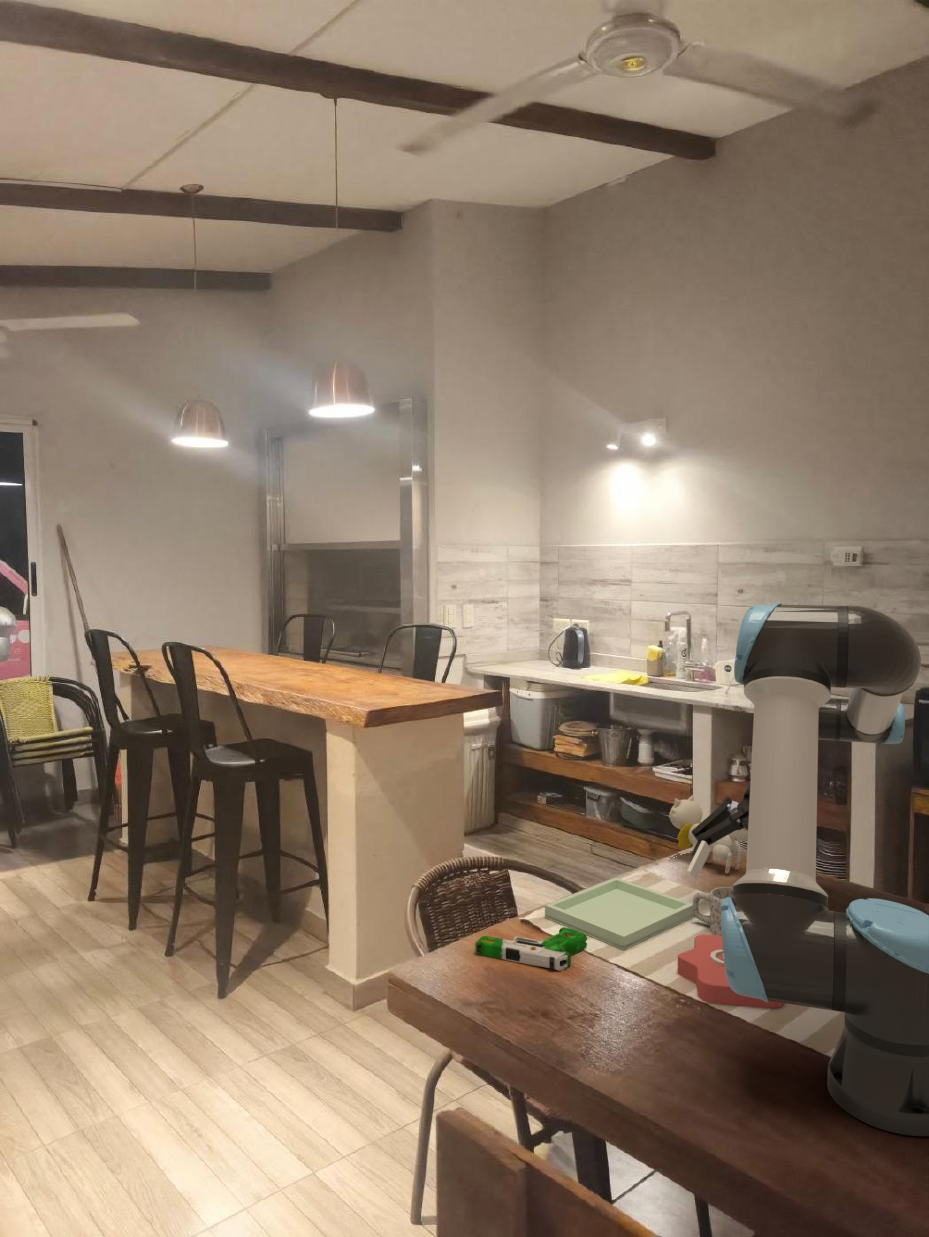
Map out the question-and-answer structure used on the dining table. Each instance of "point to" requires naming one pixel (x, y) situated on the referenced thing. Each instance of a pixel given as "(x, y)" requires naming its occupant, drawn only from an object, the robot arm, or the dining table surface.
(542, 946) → the handgun
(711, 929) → the mug
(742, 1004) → the plaque
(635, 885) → the tray
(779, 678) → the robot arm
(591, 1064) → the dining table surface
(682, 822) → the toy
